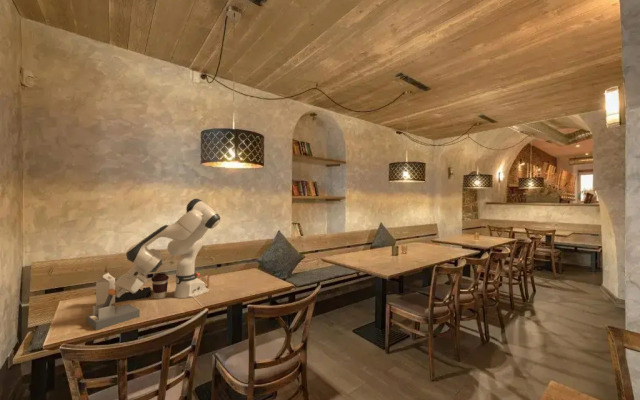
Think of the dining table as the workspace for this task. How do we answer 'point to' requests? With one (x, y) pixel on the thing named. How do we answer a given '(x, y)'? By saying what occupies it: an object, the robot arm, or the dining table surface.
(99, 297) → the milk carton
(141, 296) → the dark slate chunk
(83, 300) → the dining table surface
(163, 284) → the coffee cup
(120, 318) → the switch box
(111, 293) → the toggle lever
